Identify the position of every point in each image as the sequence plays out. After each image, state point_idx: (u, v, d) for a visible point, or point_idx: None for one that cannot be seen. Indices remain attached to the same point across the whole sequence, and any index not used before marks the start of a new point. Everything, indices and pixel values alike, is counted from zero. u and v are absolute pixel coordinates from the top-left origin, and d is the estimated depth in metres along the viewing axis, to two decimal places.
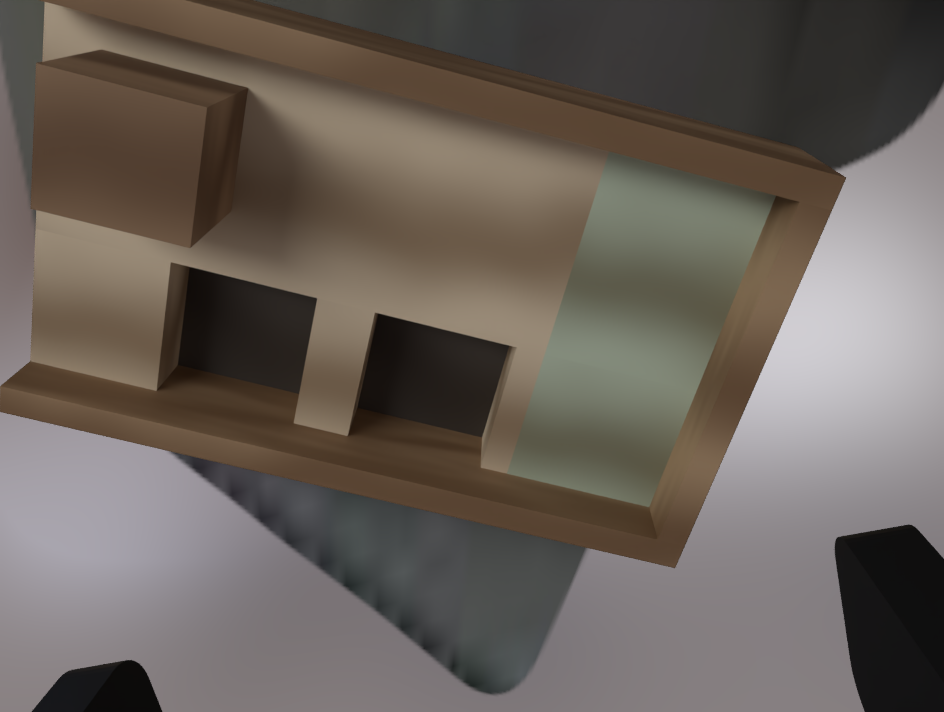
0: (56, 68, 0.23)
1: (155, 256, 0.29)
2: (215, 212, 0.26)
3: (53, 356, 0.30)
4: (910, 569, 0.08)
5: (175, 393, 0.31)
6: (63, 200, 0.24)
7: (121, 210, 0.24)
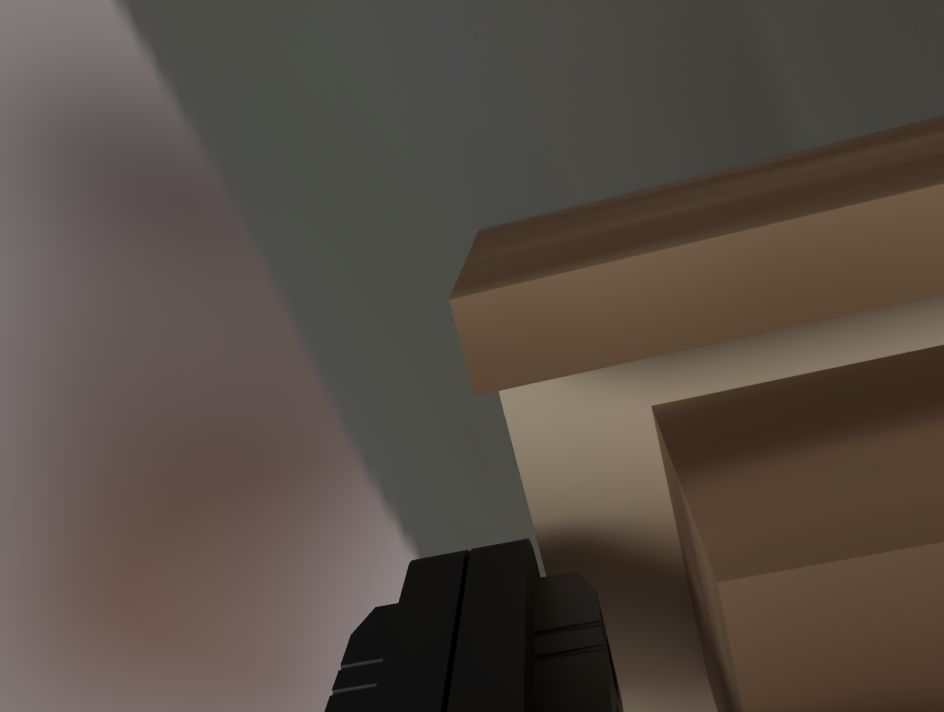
0: (784, 569, 0.07)
1: None
2: None
3: None
4: (497, 577, 0.09)
5: None
6: None
7: None
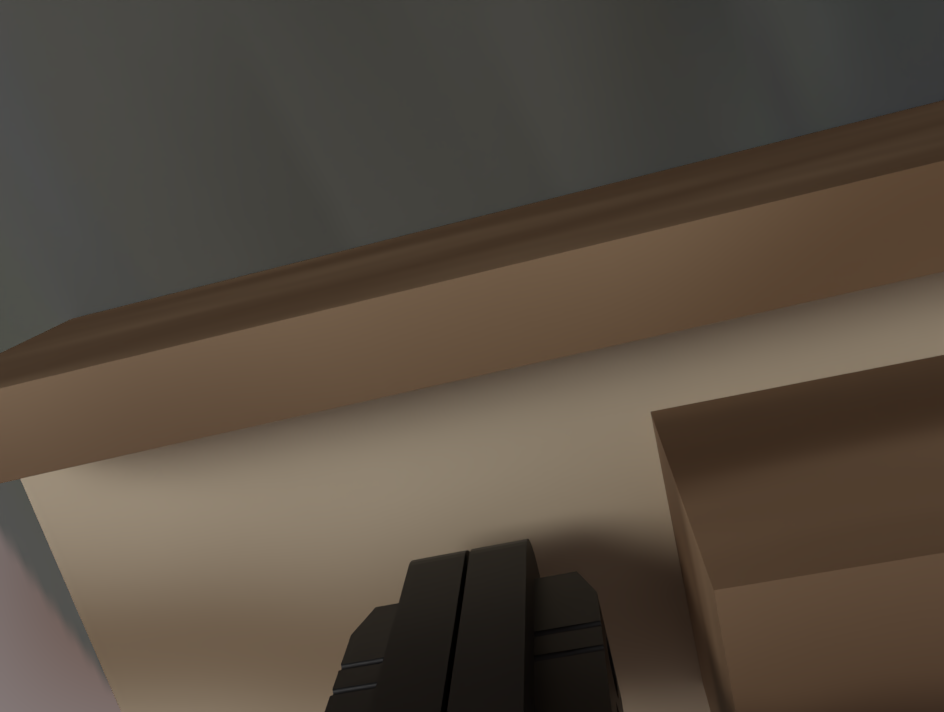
0: (780, 578, 0.07)
1: None
2: None
3: None
4: (497, 577, 0.09)
5: None
6: None
7: None
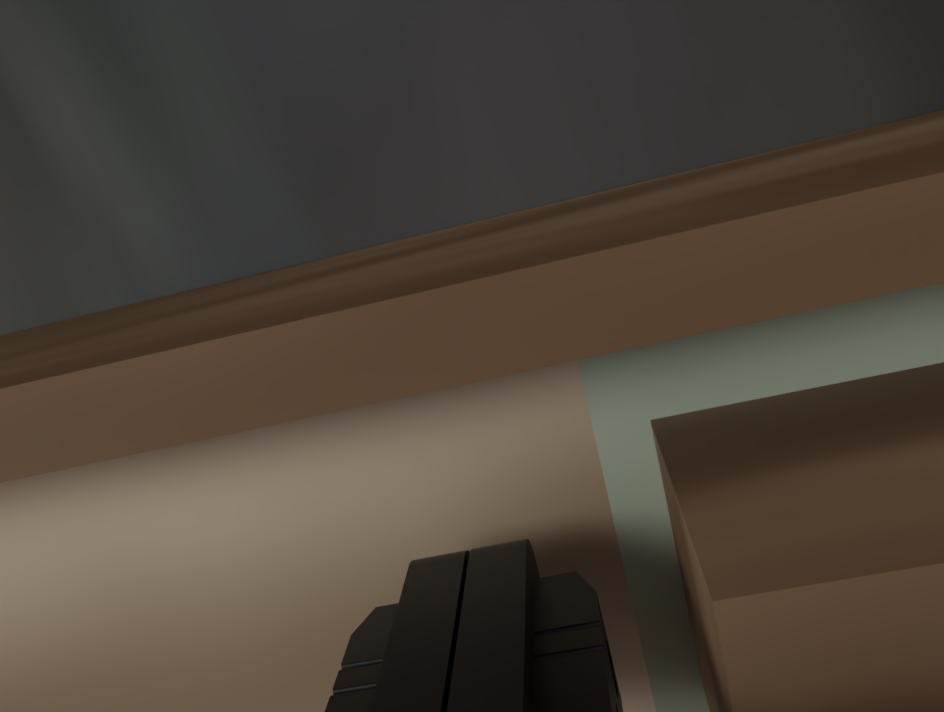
0: (778, 589, 0.07)
1: None
2: None
3: None
4: (496, 577, 0.09)
5: None
6: None
7: None
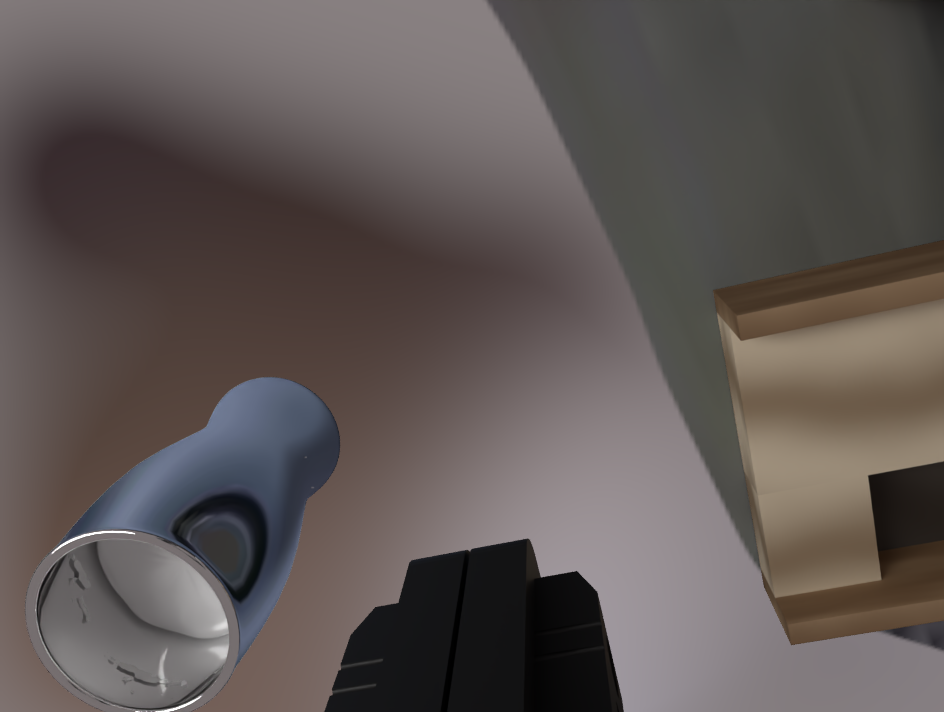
0: None
1: (854, 476, 0.36)
2: None
3: (792, 586, 0.37)
4: (497, 577, 0.09)
5: (895, 575, 0.37)
6: None
7: None
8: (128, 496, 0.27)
